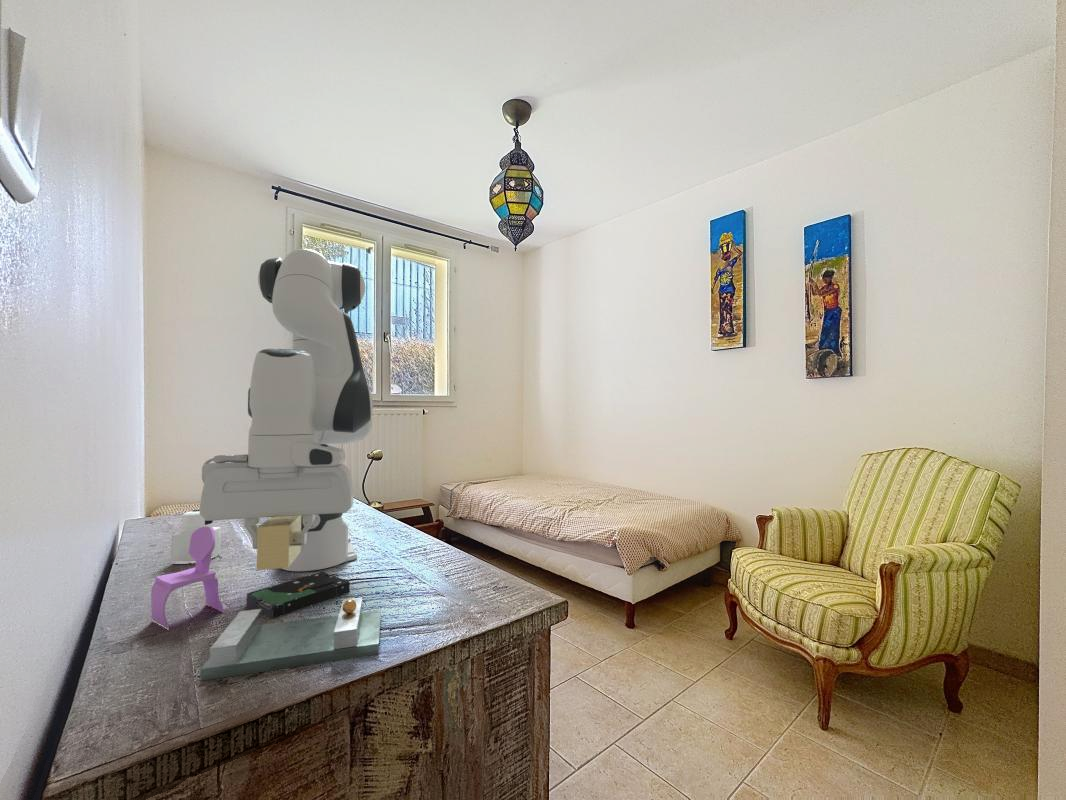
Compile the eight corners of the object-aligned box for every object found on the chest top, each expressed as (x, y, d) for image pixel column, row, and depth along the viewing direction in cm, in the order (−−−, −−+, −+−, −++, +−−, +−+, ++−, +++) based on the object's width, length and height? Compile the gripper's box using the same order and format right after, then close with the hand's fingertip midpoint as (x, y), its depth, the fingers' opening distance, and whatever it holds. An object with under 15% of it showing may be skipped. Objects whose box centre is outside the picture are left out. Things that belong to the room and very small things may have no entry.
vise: (232, 638, 70) (232, 612, 70) (380, 619, 76) (381, 595, 76) (200, 680, 58) (201, 649, 58) (378, 654, 65) (378, 626, 65)
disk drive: (321, 584, 94) (244, 607, 82) (322, 571, 94) (245, 592, 82) (350, 595, 88) (272, 622, 76) (351, 581, 88) (272, 605, 76)
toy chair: (146, 621, 76) (149, 532, 76) (205, 603, 83) (208, 522, 84) (166, 633, 71) (169, 538, 72) (227, 613, 79) (229, 527, 79)
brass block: (256, 570, 62) (257, 527, 63) (272, 553, 70) (273, 515, 70) (288, 567, 64) (289, 525, 64) (300, 551, 71) (301, 513, 72)
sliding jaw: (343, 614, 74) (343, 587, 75) (362, 611, 75) (362, 585, 76) (333, 649, 63) (334, 617, 63) (356, 646, 64) (356, 614, 64)
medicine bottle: (190, 556, 112) (191, 508, 113) (220, 555, 113) (222, 507, 113) (170, 565, 105) (172, 513, 105) (202, 564, 106) (204, 513, 106)
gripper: (192, 457, 62) (189, 558, 61) (351, 453, 67) (349, 546, 67) (211, 453, 68) (208, 546, 67) (355, 450, 73) (354, 535, 73)
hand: (280, 546), depth 67 cm, fingers closed on brass block, 4 cm apart
